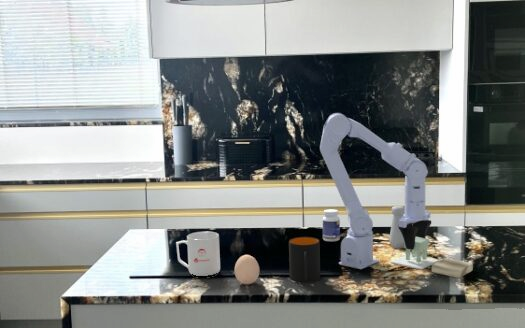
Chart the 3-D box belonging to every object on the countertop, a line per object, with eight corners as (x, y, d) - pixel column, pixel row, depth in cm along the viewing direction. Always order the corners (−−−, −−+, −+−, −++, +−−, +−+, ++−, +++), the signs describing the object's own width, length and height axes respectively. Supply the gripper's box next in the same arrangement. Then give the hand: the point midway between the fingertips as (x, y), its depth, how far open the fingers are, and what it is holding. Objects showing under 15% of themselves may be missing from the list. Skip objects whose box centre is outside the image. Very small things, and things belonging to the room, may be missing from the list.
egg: (231, 282, 160) (230, 253, 159) (254, 278, 163) (252, 250, 161) (240, 289, 154) (239, 260, 153) (263, 285, 157) (262, 256, 155)
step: (459, 277, 157) (459, 270, 157) (431, 271, 162) (431, 264, 162) (472, 270, 163) (472, 263, 162) (445, 264, 168) (445, 257, 168)
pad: (421, 269, 165) (421, 268, 164) (390, 263, 171) (390, 261, 171) (439, 261, 172) (439, 259, 172) (408, 254, 179) (408, 253, 178)
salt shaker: (394, 243, 192) (394, 203, 190) (411, 245, 188) (411, 205, 186) (385, 247, 187) (385, 207, 185) (402, 250, 184) (402, 209, 182)
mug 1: (220, 267, 172) (219, 230, 171) (220, 277, 164) (218, 238, 162) (179, 270, 172) (177, 232, 170) (176, 280, 163) (174, 240, 162)
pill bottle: (340, 241, 196) (340, 212, 194) (323, 242, 196) (323, 212, 194) (338, 237, 201) (338, 208, 200) (322, 237, 201) (321, 208, 200)
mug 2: (290, 288, 154) (289, 249, 152) (289, 273, 166) (288, 237, 164) (322, 287, 154) (322, 248, 152) (319, 272, 166) (318, 236, 164)
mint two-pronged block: (419, 263, 168) (420, 242, 167) (404, 259, 171) (404, 239, 170) (428, 259, 171) (428, 239, 170) (412, 255, 175) (413, 235, 174)
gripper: (414, 206, 161) (414, 255, 163) (440, 197, 171) (439, 243, 173) (392, 203, 166) (392, 250, 168) (418, 195, 176) (418, 239, 178)
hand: (414, 246), depth 171 cm, fingers closed on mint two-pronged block, 5 cm apart
